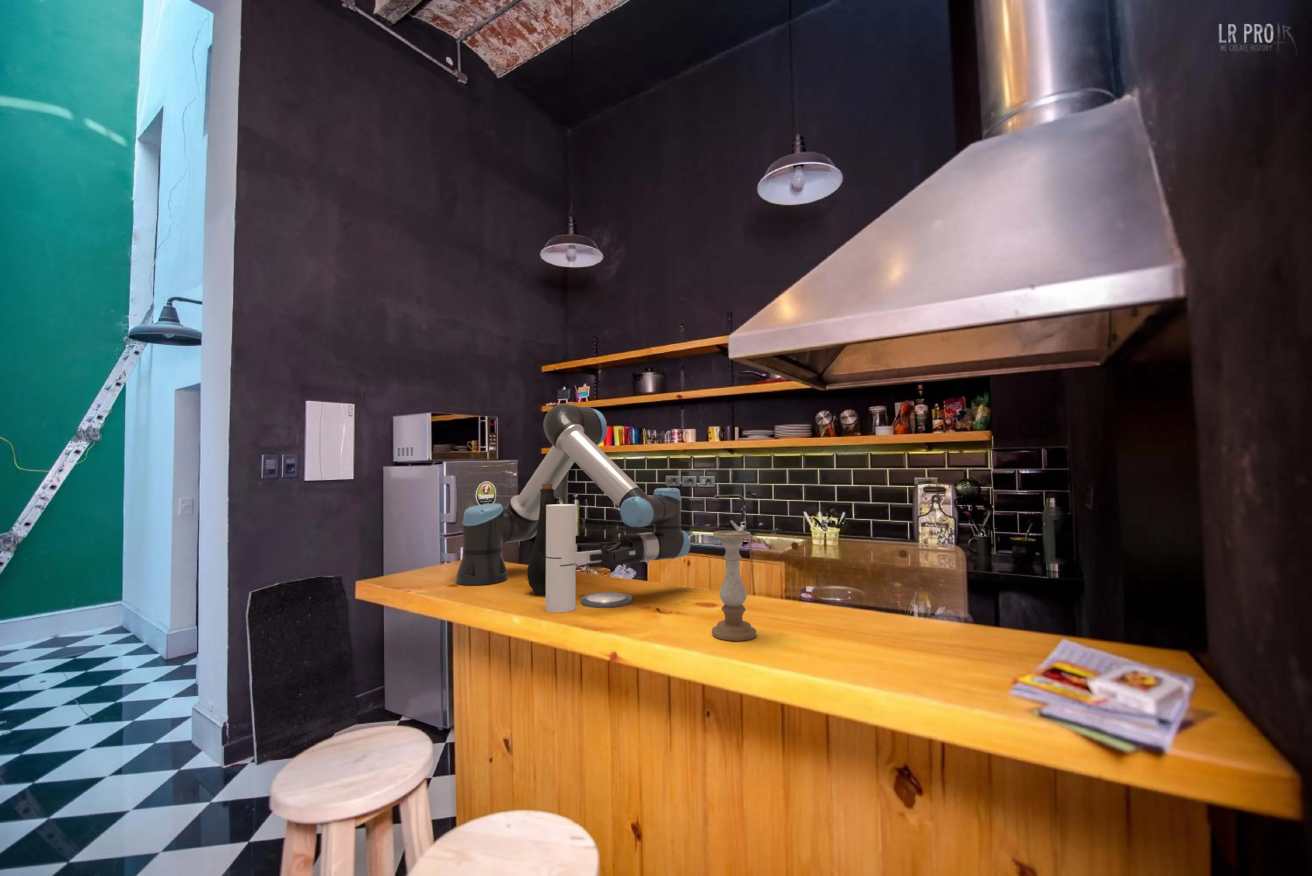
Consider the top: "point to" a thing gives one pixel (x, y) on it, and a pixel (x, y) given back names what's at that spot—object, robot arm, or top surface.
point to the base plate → (606, 599)
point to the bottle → (540, 545)
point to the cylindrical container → (560, 558)
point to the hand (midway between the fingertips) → (563, 555)
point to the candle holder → (733, 591)
